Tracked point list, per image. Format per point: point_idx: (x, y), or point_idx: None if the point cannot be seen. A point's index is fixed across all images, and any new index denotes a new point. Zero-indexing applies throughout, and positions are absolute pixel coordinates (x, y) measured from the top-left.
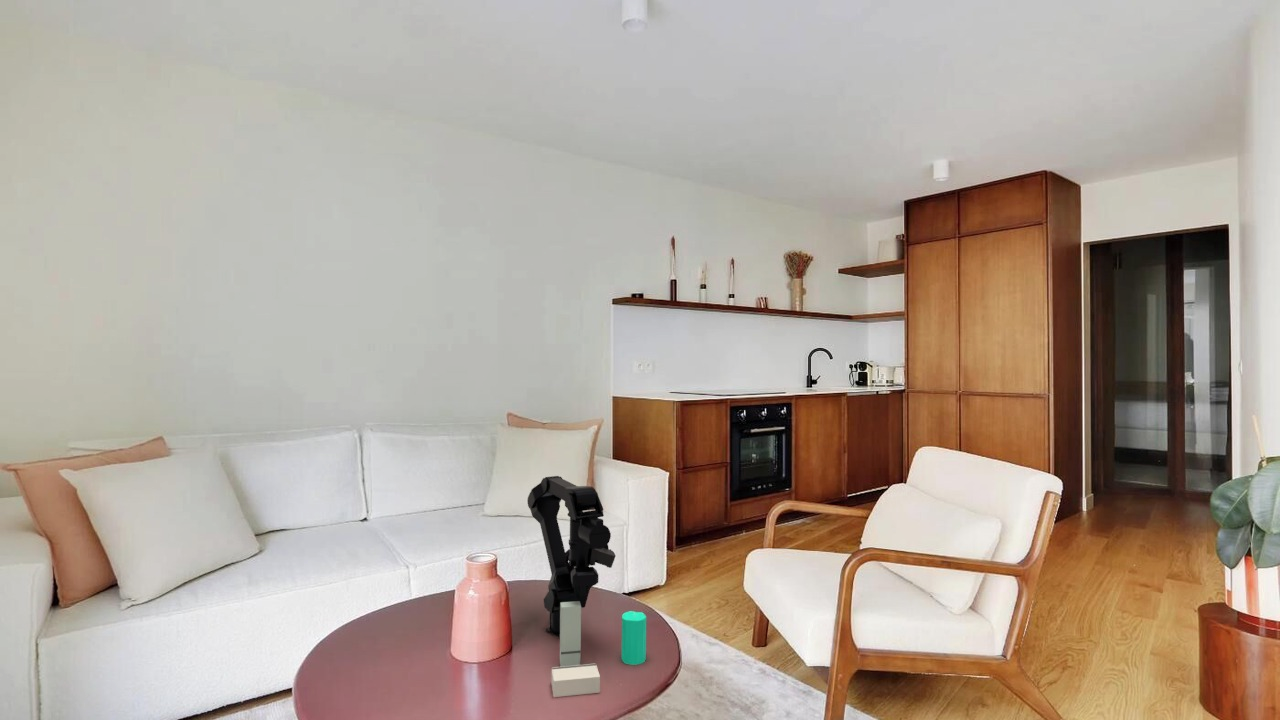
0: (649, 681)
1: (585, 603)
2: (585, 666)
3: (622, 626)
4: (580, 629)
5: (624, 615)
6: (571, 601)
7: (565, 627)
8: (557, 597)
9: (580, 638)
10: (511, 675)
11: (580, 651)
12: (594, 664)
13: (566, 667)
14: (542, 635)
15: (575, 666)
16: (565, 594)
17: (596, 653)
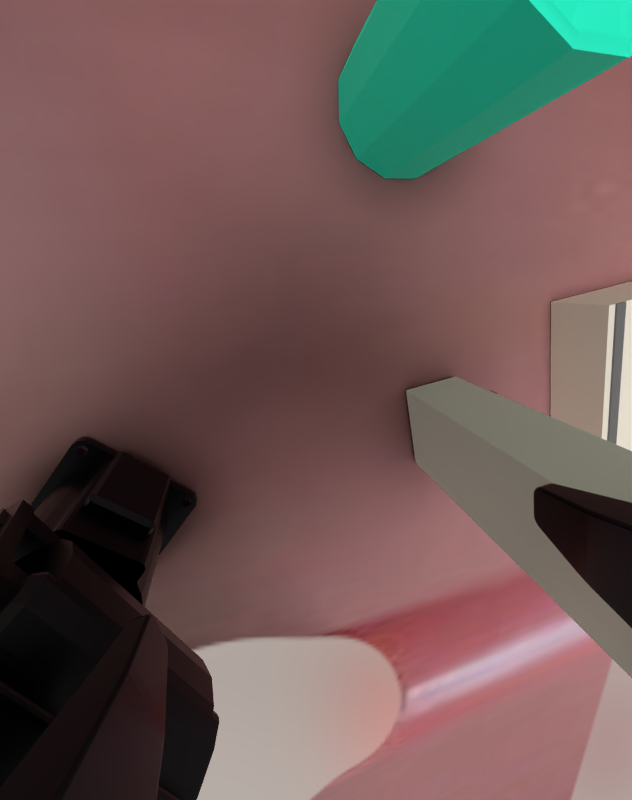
0: None
1: (599, 498)
2: (622, 351)
3: (561, 95)
4: (590, 435)
5: (564, 19)
6: (136, 604)
7: None
8: (214, 740)
9: (541, 414)
10: (486, 581)
11: (494, 392)
12: (621, 311)
13: (617, 428)
14: (176, 579)
15: (618, 394)
16: (165, 716)
17: (342, 315)
